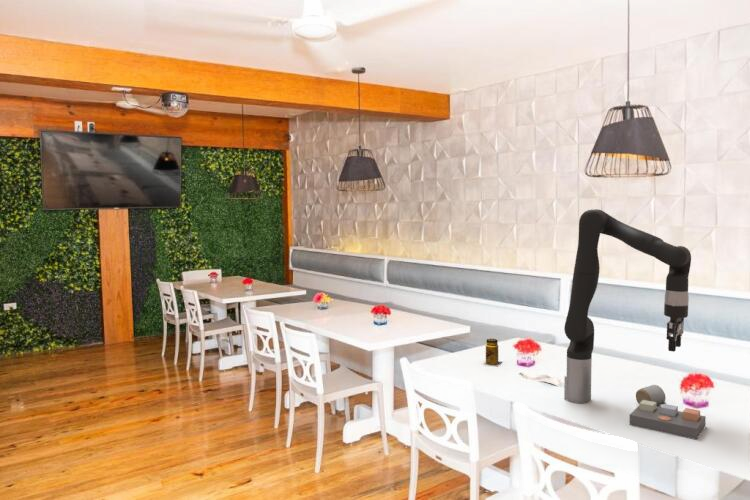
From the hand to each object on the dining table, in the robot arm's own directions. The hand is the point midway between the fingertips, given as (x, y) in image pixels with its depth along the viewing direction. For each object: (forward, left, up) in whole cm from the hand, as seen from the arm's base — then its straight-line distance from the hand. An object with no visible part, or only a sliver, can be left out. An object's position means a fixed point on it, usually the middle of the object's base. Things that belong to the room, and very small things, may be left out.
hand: (674, 348), depth 208 cm
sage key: (-7, -5, -23) cm, 24 cm away
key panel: (0, -8, -26) cm, 27 cm away
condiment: (-86, +27, -26) cm, 94 cm away
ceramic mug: (-9, +9, -26) cm, 29 cm away
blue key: (0, -6, -23) cm, 23 cm away
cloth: (-55, +17, -26) cm, 63 cm away
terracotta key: (+7, -6, -23) cm, 24 cm away
